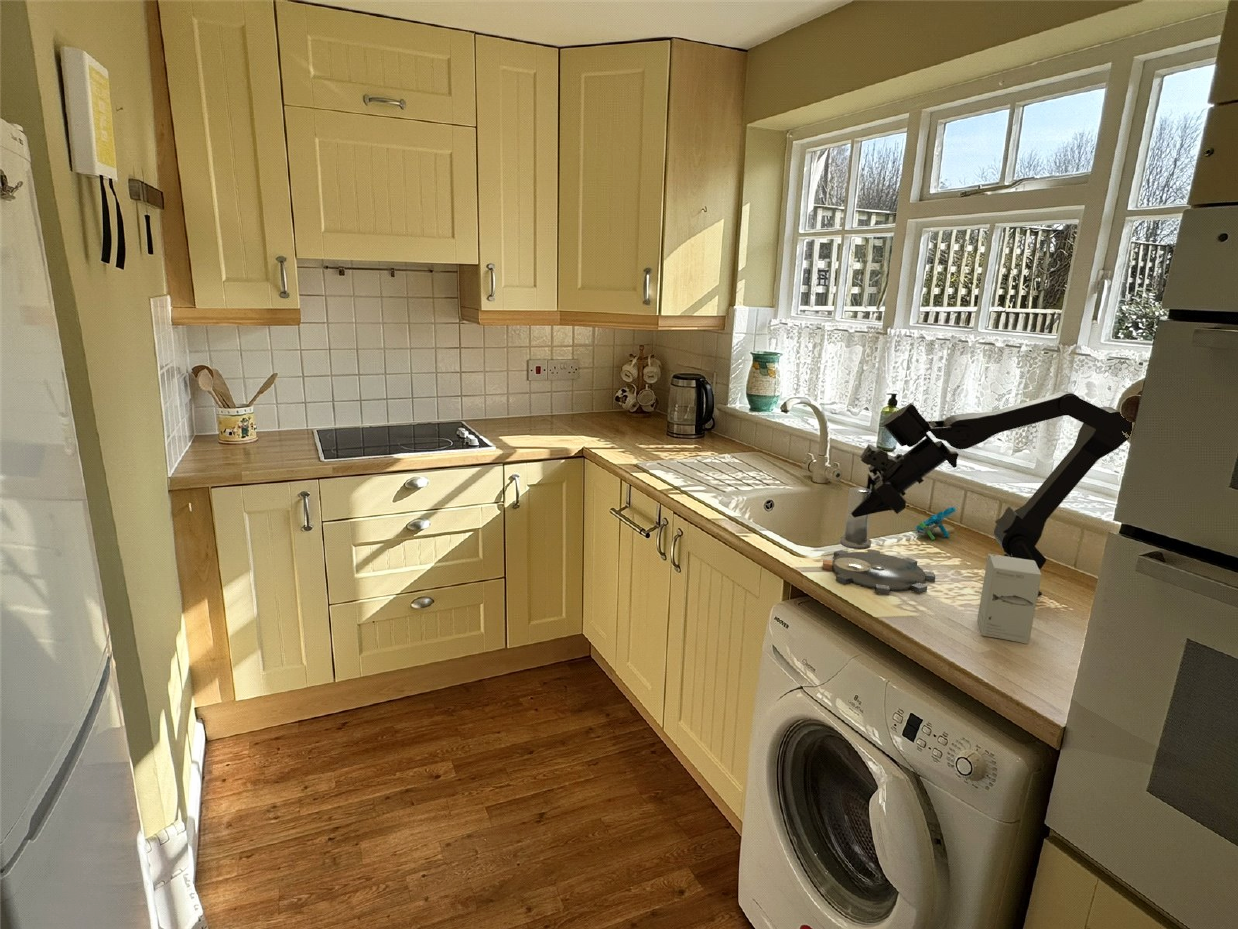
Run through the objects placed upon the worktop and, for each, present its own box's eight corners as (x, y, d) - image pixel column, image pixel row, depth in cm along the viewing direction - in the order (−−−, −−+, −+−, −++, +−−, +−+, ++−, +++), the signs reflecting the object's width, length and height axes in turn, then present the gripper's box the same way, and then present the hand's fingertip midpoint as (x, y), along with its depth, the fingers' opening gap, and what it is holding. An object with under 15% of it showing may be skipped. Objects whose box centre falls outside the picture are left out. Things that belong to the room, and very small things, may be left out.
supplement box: (980, 636, 123) (992, 567, 120) (976, 618, 129) (987, 552, 126) (1029, 645, 120) (1042, 574, 117) (1023, 626, 127) (1035, 558, 124)
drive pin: (876, 545, 148) (882, 491, 145) (859, 551, 144) (865, 496, 142) (851, 537, 153) (857, 484, 150) (834, 542, 149) (839, 489, 146)
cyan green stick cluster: (933, 519, 180) (960, 500, 172) (947, 539, 178) (975, 521, 170) (903, 531, 175) (930, 512, 167) (917, 552, 173) (945, 534, 165)
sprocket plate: (925, 561, 156) (926, 554, 156) (943, 601, 136) (944, 595, 136) (822, 549, 161) (822, 543, 161) (823, 587, 141) (824, 580, 141)
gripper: (884, 424, 151) (824, 471, 156) (894, 442, 133) (826, 494, 138) (920, 464, 151) (859, 510, 156) (934, 487, 133) (865, 538, 138)
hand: (851, 512), depth 147 cm, fingers closed on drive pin, 4 cm apart
